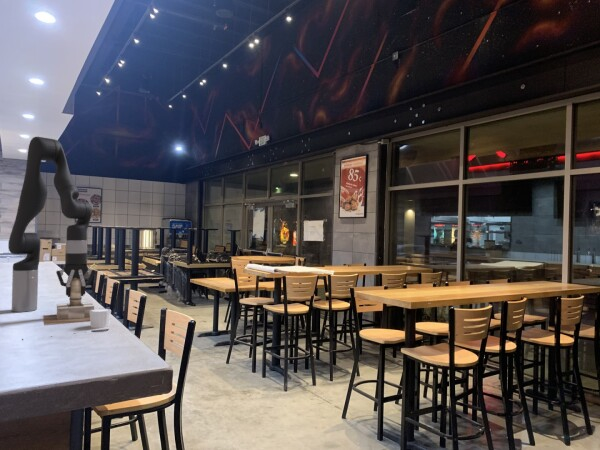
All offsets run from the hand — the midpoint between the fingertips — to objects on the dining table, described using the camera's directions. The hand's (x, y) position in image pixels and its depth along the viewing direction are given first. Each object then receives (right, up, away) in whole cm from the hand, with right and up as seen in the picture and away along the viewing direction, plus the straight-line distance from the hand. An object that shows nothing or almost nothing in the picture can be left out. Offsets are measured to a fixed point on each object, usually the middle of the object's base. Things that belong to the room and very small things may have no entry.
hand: (75, 296), depth 166 cm
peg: (0, -5, 0) cm, 5 cm away
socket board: (0, -9, -5) cm, 10 cm away
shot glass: (+18, -9, -17) cm, 26 cm away
